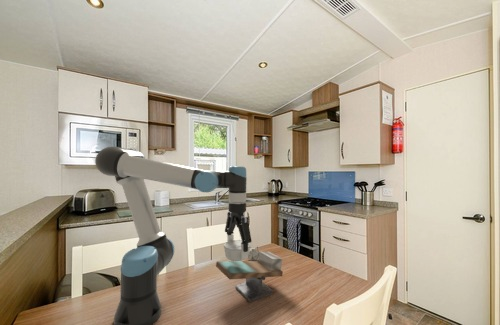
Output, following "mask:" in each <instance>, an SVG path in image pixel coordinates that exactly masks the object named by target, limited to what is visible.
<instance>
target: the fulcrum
mask: <svg viewBox="0 0 500 325" xmlns="http://www.w3.org/2000/svg"><path fill="white" fill-rule="evenodd" d="M235 289H236V290H237V291H238V292H239V293H240V294H241V295H242V296H243V298H245V299H246V300H247V301H248V302H250V303H251V302H253V301H257V300H259V299H262V298H263V297H267V296H269V295H272V294H273V293H274V290H273V289H272V288H270V286H268V285H266V284H265V283H264V282H263V280H262V279H261V278H246V279H245V282H242V283H238V284H235Z"/></svg>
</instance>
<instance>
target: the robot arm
mask: <svg viewBox="0 0 500 325" xmlns="http://www.w3.org/2000/svg"><path fill="white" fill-rule="evenodd" d="M94 162H95V166H96V168H97V170H98V171H99V172H100V173H101V174H103V175H106V176H109V177H114V179H115V181H116V183H117V184H119V185H120V186H122V190H123V193H124V196H125V199H126V202H127V205H128V209H129V211H130V214H131V217H132V221H133V224H134V227H135V230H136V233H137V237H138V241H137V243H136V248H132V249H130V250H129V251H126V253H125V254H124V255H123V257H122V259H121V265H120V298H119V299H120V300H119V303H118V305H117V308H116V310H115V314H114V318H113V325H153V324H154V323H155V322H156V321H157V320H159V318H160V316H161V314H162V303H161V300H160V297H159V295H158V291H157V290H158V289H157V288H158V287H157V284H158V283H157V281H158V275H159V274H160V273H161V272H162V271H163V270H164V269H165V268H166V267H167V266H168V265H170V262H171V260H172V259H173V258H174V255H175V245H174V243H173V241H172V240H171V239H170V238H168V237H167V235H166V232H165V231H162V230H161V228H160V224H159V222H158V220H157V216H156V213H155V209H154V207H153V204H152V200H151V197H150V195H149V191H148V189H147V185H146V182H145V180H147V181H148V180H149V181H153V182H159V183H164V184H169V185H173V186H180V187H184V188H189V189H194V190H197V191H199V192H201V193H211V192H213V191H215V190H216V189H228V202H229V203H228V212H226V214H227V218H226V223H225V228H224V232H225V233H226V238H227V240H226V242H228V241H232V240H235V239H234V234H235V233H234V231H235V228H238V232H239V235H240V236H239V237H240V240H242V243H241V260H242V261H246V260H249V258H248V243H249V244H250V243H252V237H251V236H252V234H251V230H250V225H249V216H245V212H247V203H246V202H247V180H248V179H247V168H246V167H245V166H236V165H235V166H233V165H232V166H231V165H230V166H229V167H228V170H204V169H200V168H194V167H190V166H185V165H180V164H176V163H175V164H174V163H170V162H165V161H160V160H157V159H156V160H155V159H150V158H146V156H144V154H143V153H142V152H140V151H138V150H136V149H133V148H125V147H119V146H107V147H104V148H102V149H101V150H100V151H99V152H98V153H97V154H96V157H95V160H94Z"/></svg>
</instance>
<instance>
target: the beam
mask: <svg viewBox="0 0 500 325" xmlns="http://www.w3.org/2000/svg"><path fill="white" fill-rule="evenodd" d="M258 251H259V250H258ZM282 263H283V258H282V257H280V256H278V255H276V254H274V253H273V252H271V251H259V256H258V259H257V261H254V260H250V261H249V260H242V261H231V260H228V261H227V260H226V261H224V260H223V261H221V260H220V261H219V260H218V261H216V263H215V267H216V268H217V269H218V270H219V271H220V272H221V273H222V274H223V275H224V276H225V277H227V279H228V280H243V279H245V280H246V278H261V279H262V281H265V280H266V278H274V277H275V278H277V277H283V272H284V271H283V270H281V269H282V265H283V264H282Z"/></svg>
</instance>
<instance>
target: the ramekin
mask: <svg viewBox="0 0 500 325" xmlns="http://www.w3.org/2000/svg"><path fill="white" fill-rule="evenodd" d="M241 243H242V239H234V240H232V241H228V242H227V241H226V242H225V243H224V244H223V249H224V253H225V254H224V256H225V257H226V259H227V260H228V261H243V260H241ZM250 247H251V244H250V243H248V254H249V248H250Z"/></svg>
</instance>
